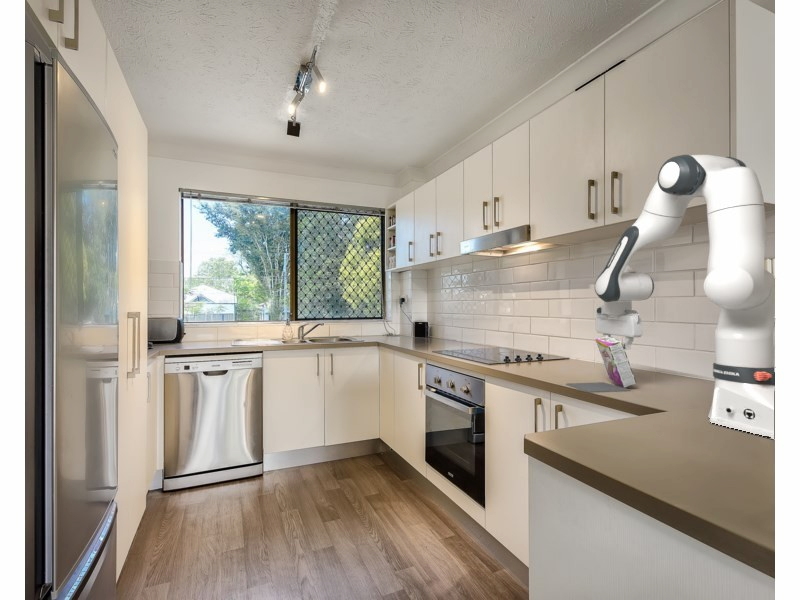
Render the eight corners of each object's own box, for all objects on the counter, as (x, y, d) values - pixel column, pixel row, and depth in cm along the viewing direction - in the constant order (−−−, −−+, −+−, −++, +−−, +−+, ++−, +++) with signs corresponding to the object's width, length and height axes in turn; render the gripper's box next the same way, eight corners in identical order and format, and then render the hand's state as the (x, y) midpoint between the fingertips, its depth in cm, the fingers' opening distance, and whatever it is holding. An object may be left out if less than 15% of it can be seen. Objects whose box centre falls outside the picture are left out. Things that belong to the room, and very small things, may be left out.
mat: (630, 390, 135) (630, 389, 135) (589, 392, 133) (589, 391, 133) (603, 383, 149) (603, 382, 149) (565, 384, 146) (565, 383, 146)
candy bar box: (608, 379, 148) (594, 339, 147) (621, 374, 148) (607, 334, 147) (623, 388, 137) (608, 345, 136) (637, 384, 137) (622, 340, 136)
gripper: (647, 310, 133) (647, 351, 133) (607, 309, 153) (607, 344, 153) (630, 310, 132) (630, 351, 132) (592, 309, 153) (592, 344, 152)
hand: (617, 347), depth 143 cm, fingers open, 8 cm apart
